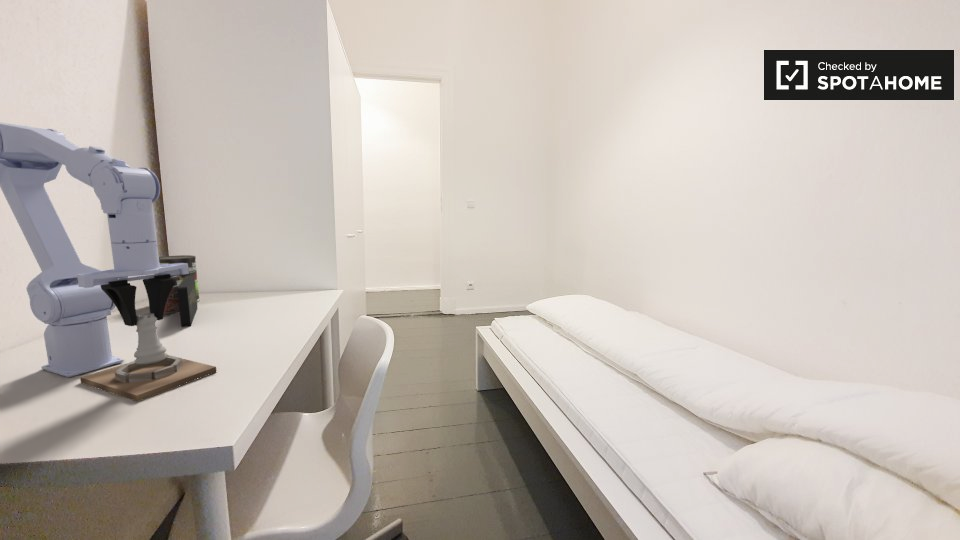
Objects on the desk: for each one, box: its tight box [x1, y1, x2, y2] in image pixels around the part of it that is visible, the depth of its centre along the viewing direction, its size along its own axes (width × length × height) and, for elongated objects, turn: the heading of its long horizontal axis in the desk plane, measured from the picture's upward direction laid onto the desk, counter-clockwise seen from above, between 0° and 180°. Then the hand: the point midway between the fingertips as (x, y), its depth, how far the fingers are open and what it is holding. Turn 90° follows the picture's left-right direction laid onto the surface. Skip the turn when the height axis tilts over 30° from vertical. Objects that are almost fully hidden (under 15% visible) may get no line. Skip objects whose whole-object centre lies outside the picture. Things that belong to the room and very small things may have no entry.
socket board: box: [79, 354, 217, 403], centre depth 68 cm, size 16×12×2 cm
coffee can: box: [159, 254, 201, 303], centre depth 120 cm, size 10×10×14 cm
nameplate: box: [177, 275, 198, 328], centre depth 105 cm, size 21×2×10 cm, turn 32°
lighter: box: [163, 276, 180, 317], centre depth 109 cm, size 8×3×10 cm, turn 179°
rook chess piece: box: [133, 312, 169, 365], centre depth 67 cm, size 4×4×8 cm
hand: (144, 322), depth 66 cm, fingers closed on rook chess piece, 3 cm apart
